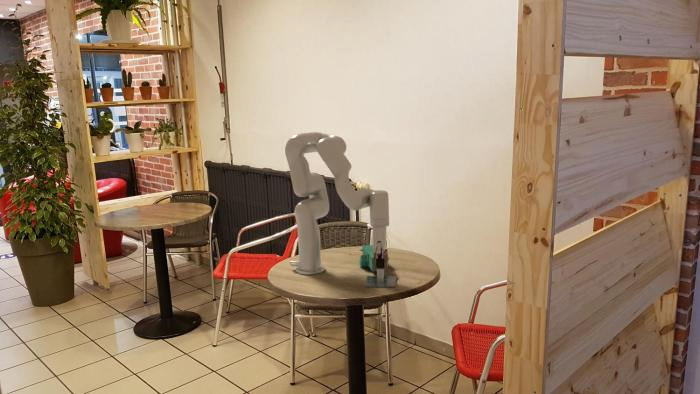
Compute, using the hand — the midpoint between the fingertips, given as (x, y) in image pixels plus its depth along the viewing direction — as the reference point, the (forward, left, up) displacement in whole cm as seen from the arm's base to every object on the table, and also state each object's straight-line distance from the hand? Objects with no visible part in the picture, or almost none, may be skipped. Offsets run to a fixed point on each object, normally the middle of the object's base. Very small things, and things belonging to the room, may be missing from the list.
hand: (380, 265), depth 211 cm
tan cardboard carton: (0, 0, -1) cm, 1 cm away
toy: (-6, +23, -8) cm, 25 cm away
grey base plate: (0, 0, -7) cm, 7 cm away
